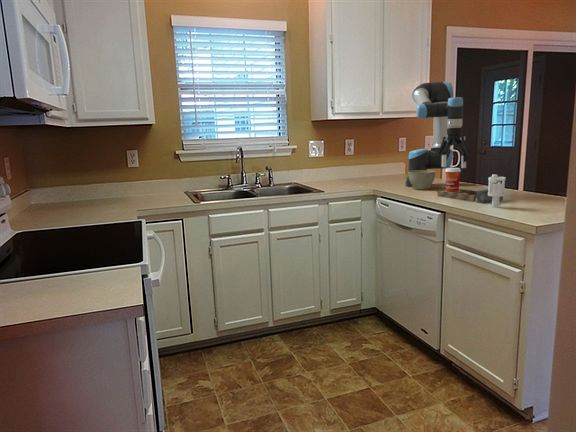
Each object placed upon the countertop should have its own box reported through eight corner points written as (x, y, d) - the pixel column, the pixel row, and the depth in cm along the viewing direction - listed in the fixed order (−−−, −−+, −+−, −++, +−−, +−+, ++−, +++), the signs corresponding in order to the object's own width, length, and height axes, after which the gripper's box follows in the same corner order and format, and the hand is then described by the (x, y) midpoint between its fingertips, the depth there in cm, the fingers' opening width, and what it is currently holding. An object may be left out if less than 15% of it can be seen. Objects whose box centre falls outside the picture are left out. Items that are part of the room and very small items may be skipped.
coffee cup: (441, 196, 236) (442, 168, 233) (449, 194, 241) (450, 167, 238) (455, 197, 230) (456, 169, 227) (463, 195, 235) (464, 168, 232)
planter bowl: (436, 190, 255) (437, 172, 253) (408, 191, 258) (409, 173, 256) (433, 186, 270) (433, 169, 268) (407, 187, 274) (407, 170, 272)
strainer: (498, 205, 204) (500, 173, 201) (506, 207, 197) (508, 175, 194) (484, 206, 204) (485, 174, 201) (491, 208, 197) (493, 176, 194)
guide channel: (437, 196, 236) (437, 185, 235) (456, 193, 242) (456, 182, 241) (483, 203, 210) (483, 191, 208) (503, 200, 216) (503, 188, 214)
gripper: (432, 128, 237) (431, 166, 241) (468, 126, 215) (467, 169, 219) (442, 127, 241) (441, 165, 245) (479, 126, 219) (477, 167, 223)
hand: (453, 167), depth 232 cm, fingers open, 13 cm apart
